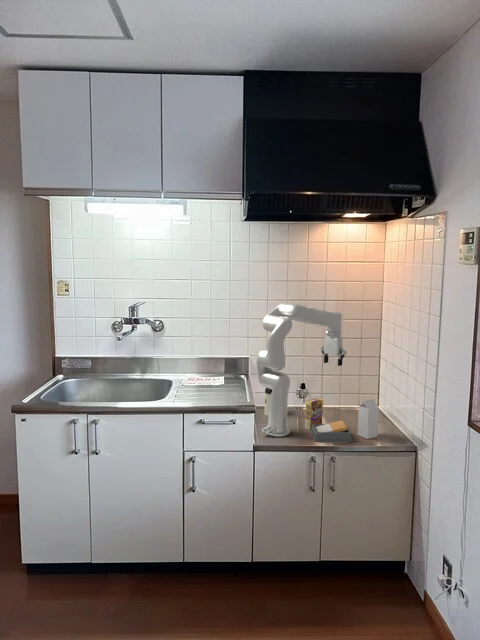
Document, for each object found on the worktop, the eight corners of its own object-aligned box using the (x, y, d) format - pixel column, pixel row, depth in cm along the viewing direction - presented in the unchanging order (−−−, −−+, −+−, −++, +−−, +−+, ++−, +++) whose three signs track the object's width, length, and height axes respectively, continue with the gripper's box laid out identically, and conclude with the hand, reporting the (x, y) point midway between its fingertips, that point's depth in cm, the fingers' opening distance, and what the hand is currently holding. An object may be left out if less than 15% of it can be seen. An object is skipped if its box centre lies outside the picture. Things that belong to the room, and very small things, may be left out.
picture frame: (319, 436, 238) (319, 433, 238) (316, 429, 248) (315, 426, 248) (347, 429, 238) (346, 426, 238) (342, 423, 248) (342, 420, 248)
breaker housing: (314, 441, 237) (314, 432, 236) (310, 432, 250) (310, 423, 249) (352, 441, 237) (353, 433, 237) (346, 432, 250) (346, 424, 250)
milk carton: (377, 437, 244) (379, 400, 242) (367, 439, 241) (369, 402, 239) (367, 432, 250) (369, 397, 248) (357, 434, 247) (358, 398, 245)
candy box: (310, 430, 252) (311, 402, 251) (304, 428, 256) (305, 400, 254) (322, 427, 258) (323, 399, 256) (316, 425, 261) (317, 397, 259)
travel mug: (278, 413, 281) (279, 383, 278) (278, 417, 273) (278, 386, 271) (264, 412, 281) (265, 382, 279) (264, 416, 273) (264, 385, 271)
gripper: (317, 332, 274) (316, 362, 276) (342, 336, 261) (341, 367, 263) (326, 331, 279) (324, 360, 281) (350, 335, 266) (349, 365, 268)
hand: (332, 364), depth 272 cm, fingers open, 9 cm apart
